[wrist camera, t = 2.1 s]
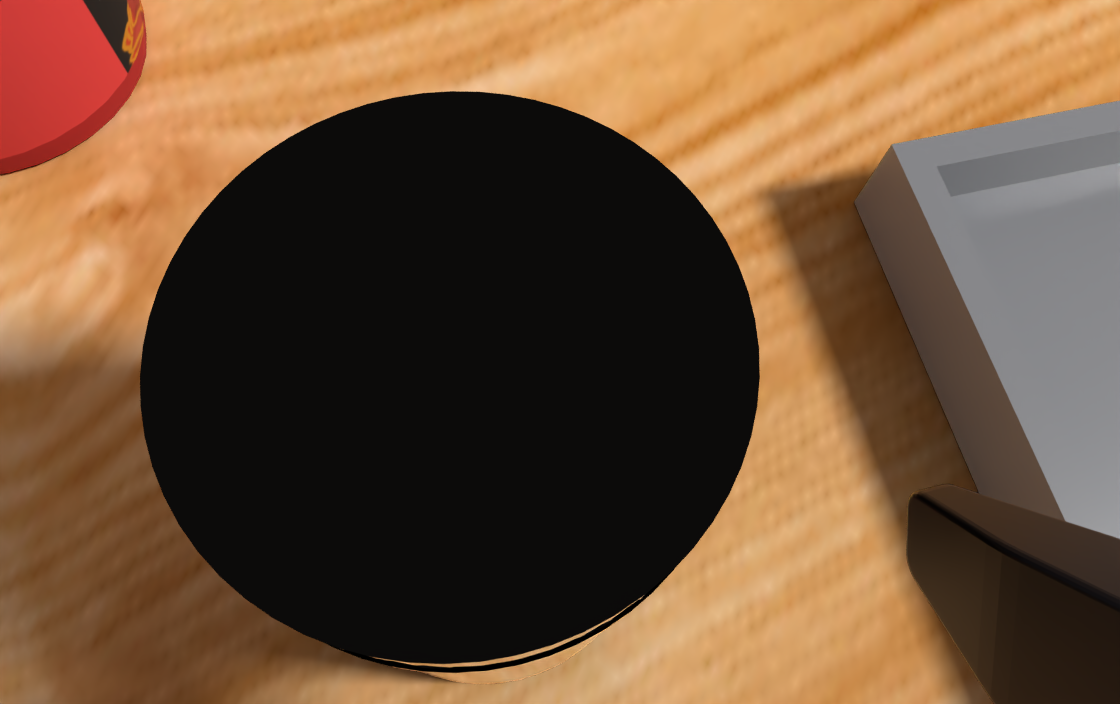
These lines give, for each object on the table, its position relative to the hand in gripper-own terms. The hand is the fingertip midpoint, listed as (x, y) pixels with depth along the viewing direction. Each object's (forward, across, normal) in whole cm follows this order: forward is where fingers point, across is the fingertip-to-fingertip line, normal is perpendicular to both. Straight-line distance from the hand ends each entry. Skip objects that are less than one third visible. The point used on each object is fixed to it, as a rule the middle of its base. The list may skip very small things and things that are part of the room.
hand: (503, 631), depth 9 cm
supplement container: (+9, 0, +5) cm, 11 cm away
